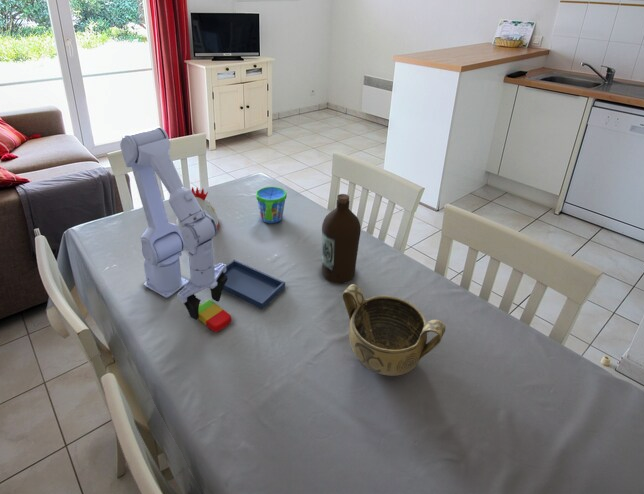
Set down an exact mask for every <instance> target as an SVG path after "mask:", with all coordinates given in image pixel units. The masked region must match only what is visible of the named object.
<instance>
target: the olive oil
mask: <svg viewBox="0 0 644 494" xmlns="http://www.w3.org/2000/svg"><path fill="white" fill-rule="evenodd" d="M361 230H362V228H361V223H360V220H359V218H358V216H357V215H356V214H355V213H354V212H353V211H352V210H351V209H350V196H349V194H346V193H339V194H338V195H337V197H336V207H335V208H334V209H333V210H331V211H329V212H328V214H327V215H325V217H324V219H323V221H322V224H321V274H322V276H323V278H324V279H325V280H326V281H328V282H330V283H333V284H338V285H340V284H347V283H349V282H351V281H352V280H353V279H354V278H355V275H356V267H357V259H358V252H359V245H360V239H361Z"/></svg>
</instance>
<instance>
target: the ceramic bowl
mask: <svg viewBox="0 0 644 494" xmlns="http://www.w3.org/2000/svg"><path fill="white" fill-rule="evenodd" d="M342 300H343V302H344V305H345V309H346V311H347V314H348V318H349V325H348V326H349V327H348V336H349V337H348V338H349V344H350V346H351V349H352V352H353V355H355V357H356V359H357V360H358V361H359V362H360V363H361V365H363V366H364V367H365V368H366V369H368V370H370V371H371V372H374V373H376V374H379V375H382V376H389V377H390V376H391V377H396V376H401V375H405V374H408V373H409V372H411V371H412V370H414V369H415V367H416V366H417V365H418V364H419V362H420V360H421V359H422V358H423V357H425V356H426V355H427V354H429V353H430V352H431V351H432V350H433V349H434V348H436V347H437V346H438V345H439V344H440V343H441V341H442V339H443V336H444V334H445V332H446V325H445V323H444V322H443V321H441V320H439V319H431V320H429V321H426V318H425V316H424V314H423V313H422V311H421V310H420V309H419V308H418V307H417V306H415V305H414V304H413V303H411V302H410V301H407V300H405V299H402V298H399V297H397V296H392V295H376V296H371V297H369V298H365V296H364V293H363V292H362V290H361V288H360V287H359V286H358V285H357V284H354V283H353V284H350V285H349V286H348V287H347V288H346V289H345V290H344V291H343V292H342ZM428 333H435V334H436V335H435V336H434V337H433V338H432V339H431V340H430V341H428ZM427 341H428V342H427Z"/></svg>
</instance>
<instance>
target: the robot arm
mask: <svg viewBox="0 0 644 494" xmlns="http://www.w3.org/2000/svg"><path fill="white" fill-rule="evenodd" d="M119 145H120V146H119V147H120V151H121V154H122V157H123V161H124V163H125V167H126V168H131V170H132V173H133V177H134V180H135V185H136V187H137V190H138V191H137V192H138V196H139V198H140V201H141V205H142V208H143V212H144V215H145V220H146V222H147V228H146V230H145V231H144V232H143V234H141V237H140V243H141V253H142V256H143V258H144V261H143V268H144V276H145V282H144V283H143V286H144V287H146V288H147V289H149V290H151V291H153V292H155V293H157V294H158V295H160V296H162V297H164V298H166V299H168V298H169V297H171V296H172V295H174V294H175V293H177V292H178V291H179V290H180V291H179V292H178V293H177V300H178V302H181V303H182V304H183V305H184V307H185V308H186V310H187V312H188V314H189V317H190V318H191V319H193V320H195V321H198V320H199V319H198V317H199V304H201V301H202V300H201V299H200V298H198V297H197V296H196V295H195V294H198V293H200V292H203V291H205V290H207V289H210V297H211V300H212V301H215V302H217V303H219V302H220V301H221V298H222V293H223V291H224V290H223V287H224V285H225V283H226V281H227V280H228V277H227V276H226V275H224V274H223V273H225V272H226V265H227V264H225V263H223V262H219V263H217V264H215V259H214V257H215V256H214V241H213V238H215V237H216V236H217V234H218V230H217V226H216V223H215V221H214V219H213V218H212V217H211V216H210V215H208V214H207V212H205V210H204V211H202V209H201V207H200V205H199V203H198V202H197V200H196V198H195V196H194V194H193V193H192V191H191V190H192V189H190V188H187V187H185V186H184V184H183V182H182V180H181V176H180V175H179V172H178V170H177V168H176V166H175V164H174V161H173V159H172V157H171V155H170V151H171V141H170V138H169V134H168V133H167V132H166V130H165V129H164V128H163V127H161V126H155V127H153V128H149V129H145V130H141V131H137V132H134V133H130V134H124V135H122V137H121V140H120V144H119ZM156 175H157V176H156ZM157 177H158V179H159V180H160V181H161V183H162V185H163V186H164V187H165V189H166V190H167V192H168V194H169V198H168V204H169V206H170V208H171V209H172V211H173V213H174V215H175V216H176V219H177V218H178V220H179V222H180V224H181V226H182V227H183V228H182V231H181V232H180V230H179V227H178V226H177V225H176V223H173V222H169V219H168V215H167V212H166V208H165V204H164V201H163V197H162V193H161V189H160V186H159V183H158V179H157ZM185 249H186V251H187V253H188V262H189V274H190V278H189V279H186V278H185V277H182V272H181V270H182V269H181V262H180V261H181V260H180V257H181V256H182V252H183V251H184V250H185Z"/></svg>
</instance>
